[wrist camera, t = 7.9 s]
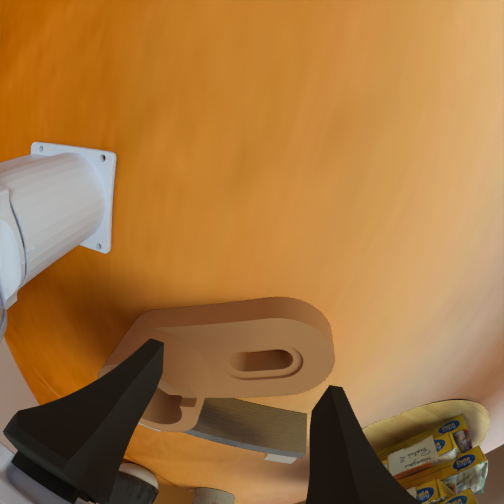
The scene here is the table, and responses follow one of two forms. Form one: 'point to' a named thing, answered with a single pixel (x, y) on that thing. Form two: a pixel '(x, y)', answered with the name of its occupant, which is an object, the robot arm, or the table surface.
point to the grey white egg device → (134, 486)
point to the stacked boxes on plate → (435, 450)
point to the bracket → (229, 354)
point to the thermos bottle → (212, 496)
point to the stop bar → (252, 428)
